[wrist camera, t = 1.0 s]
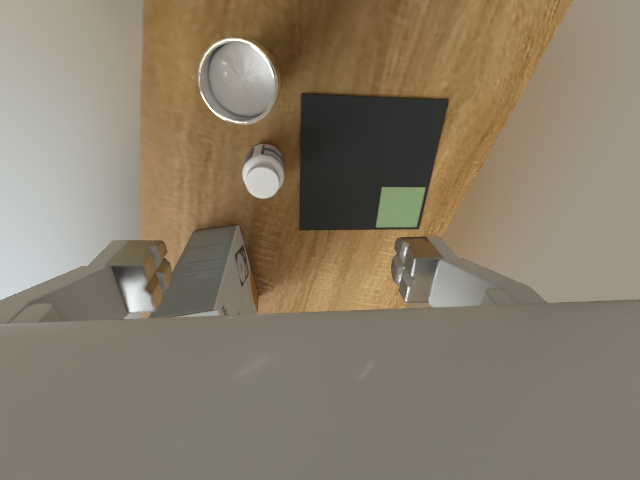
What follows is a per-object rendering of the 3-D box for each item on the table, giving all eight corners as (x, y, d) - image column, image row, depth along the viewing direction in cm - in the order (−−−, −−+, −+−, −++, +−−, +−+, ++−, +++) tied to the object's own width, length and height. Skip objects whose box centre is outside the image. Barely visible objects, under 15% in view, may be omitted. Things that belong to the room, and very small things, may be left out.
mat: (301, 93, 40) (301, 94, 40) (447, 99, 43) (449, 100, 42) (299, 229, 51) (299, 230, 50) (417, 228, 53) (419, 229, 52)
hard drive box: (260, 297, 57) (250, 400, 40) (218, 303, 57) (190, 409, 40) (239, 222, 49) (216, 311, 32) (191, 229, 49) (141, 323, 32)
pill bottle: (254, 183, 46) (249, 209, 38) (240, 149, 43) (231, 169, 36) (289, 173, 46) (290, 196, 38) (277, 138, 43) (275, 156, 35)
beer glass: (291, 89, 40) (294, 105, 27) (243, 114, 41) (225, 140, 28) (264, 30, 37) (253, 16, 24) (213, 58, 37) (176, 59, 25)
